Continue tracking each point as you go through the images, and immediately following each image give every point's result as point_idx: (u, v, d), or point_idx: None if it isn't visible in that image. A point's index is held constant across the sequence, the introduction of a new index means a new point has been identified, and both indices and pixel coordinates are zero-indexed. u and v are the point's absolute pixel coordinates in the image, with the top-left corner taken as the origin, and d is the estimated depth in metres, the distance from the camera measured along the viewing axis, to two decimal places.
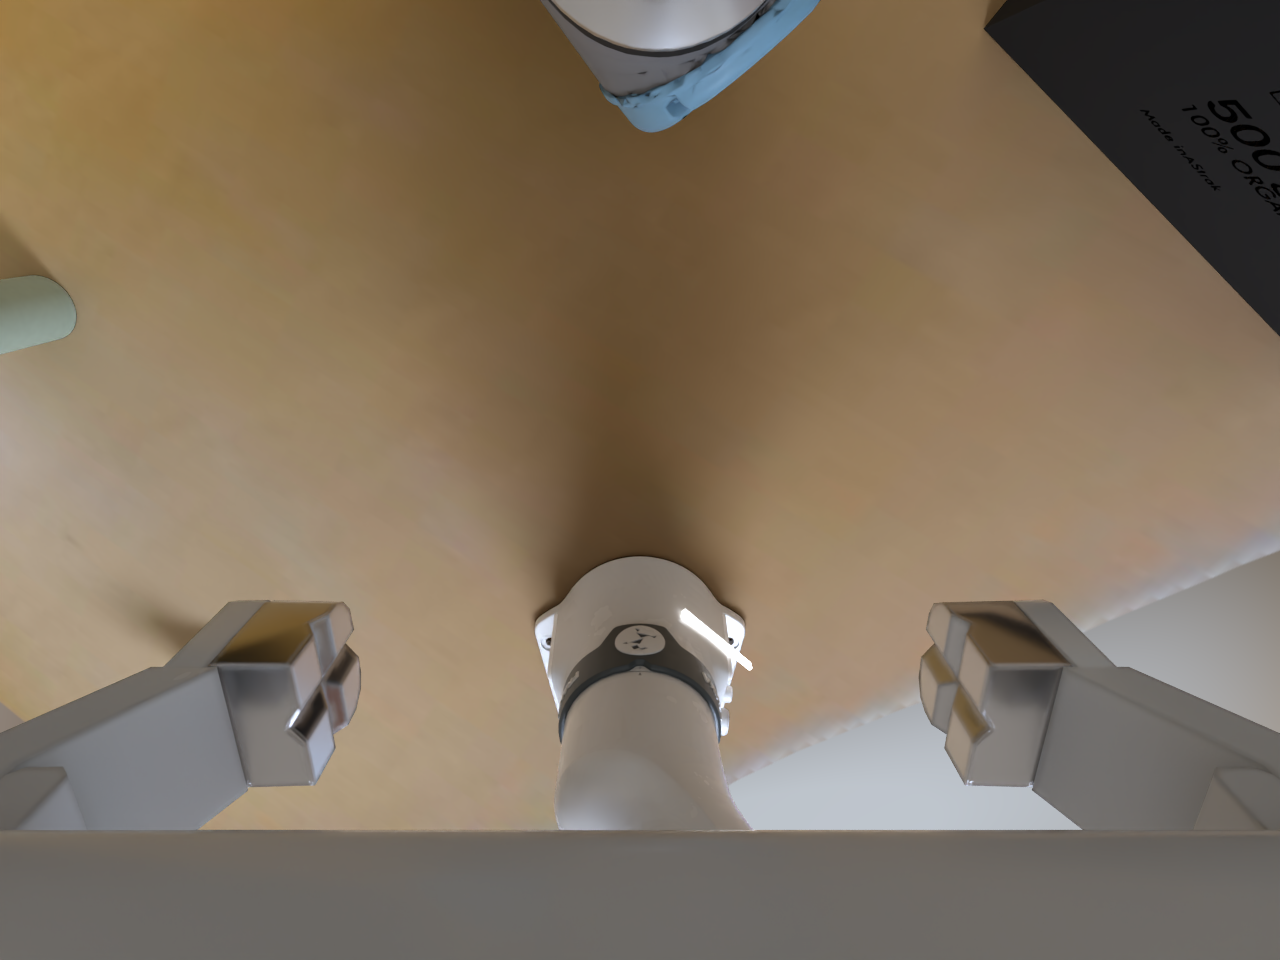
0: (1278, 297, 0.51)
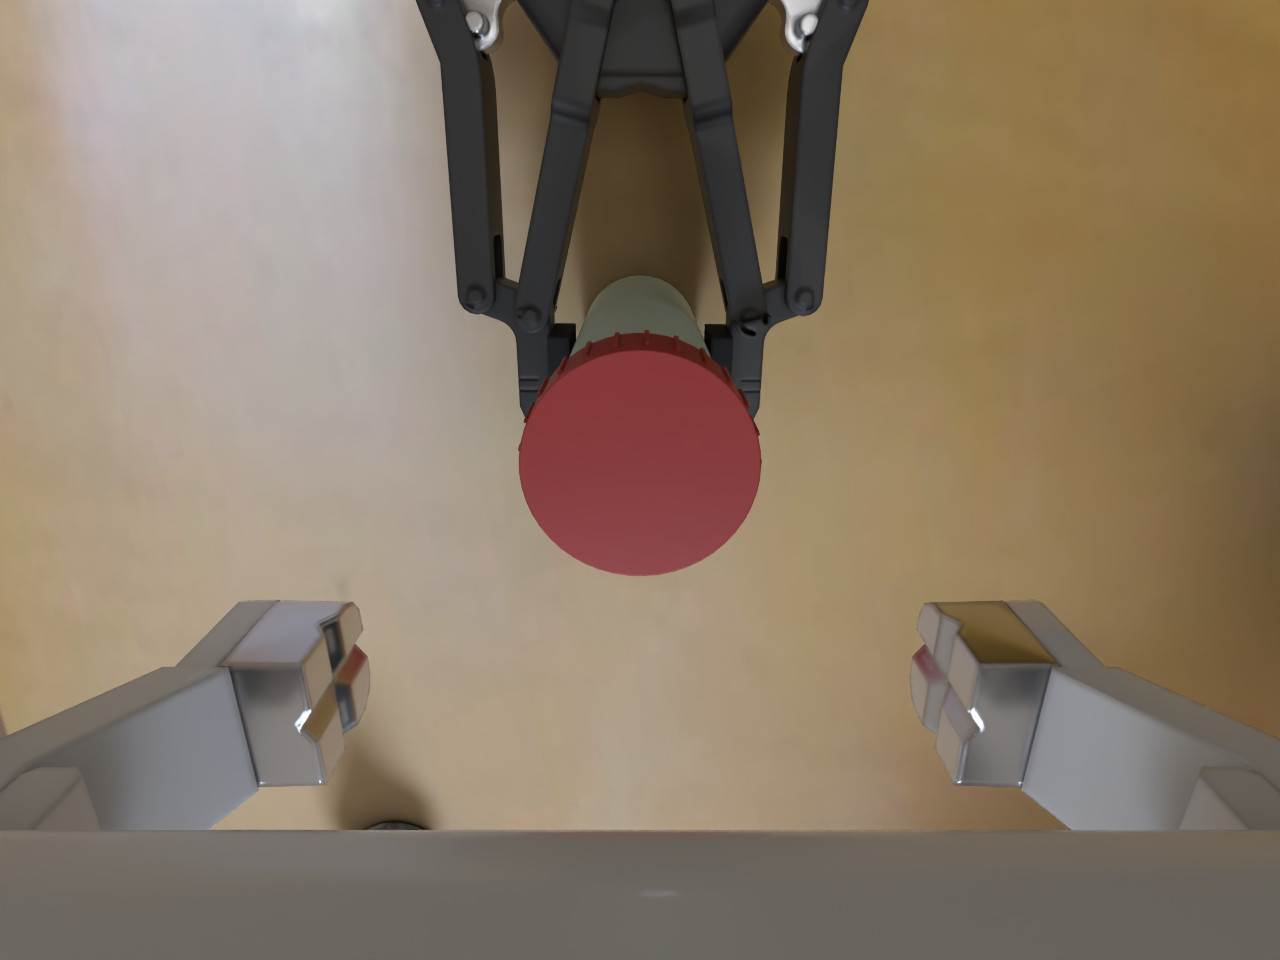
0: None
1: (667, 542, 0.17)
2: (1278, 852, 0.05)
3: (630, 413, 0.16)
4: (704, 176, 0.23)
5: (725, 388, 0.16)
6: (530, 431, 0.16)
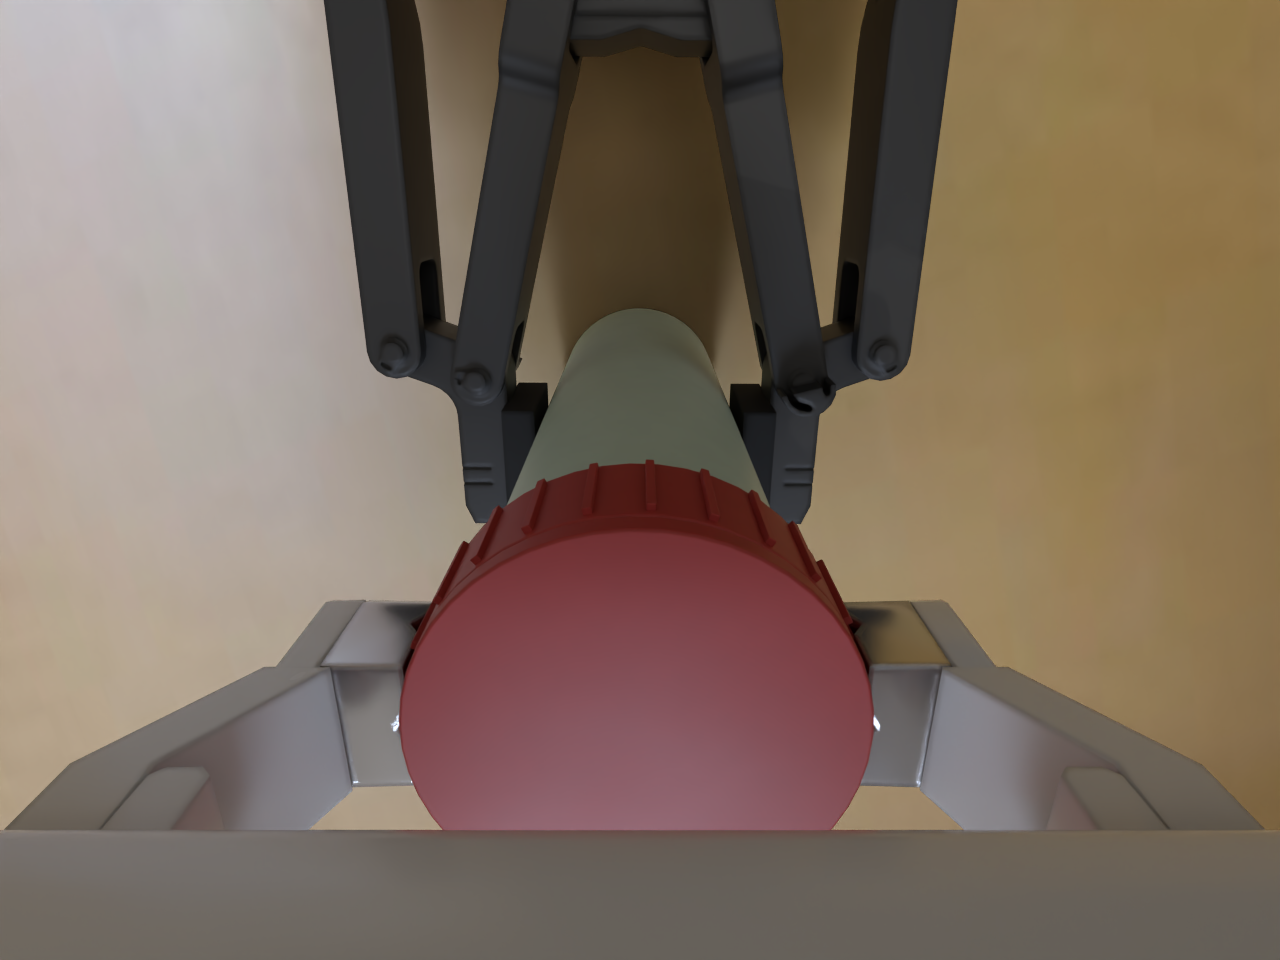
0: None
1: None
2: (1279, 852, 0.05)
3: (617, 646, 0.08)
4: (737, 173, 0.15)
5: (810, 601, 0.08)
6: (418, 677, 0.08)
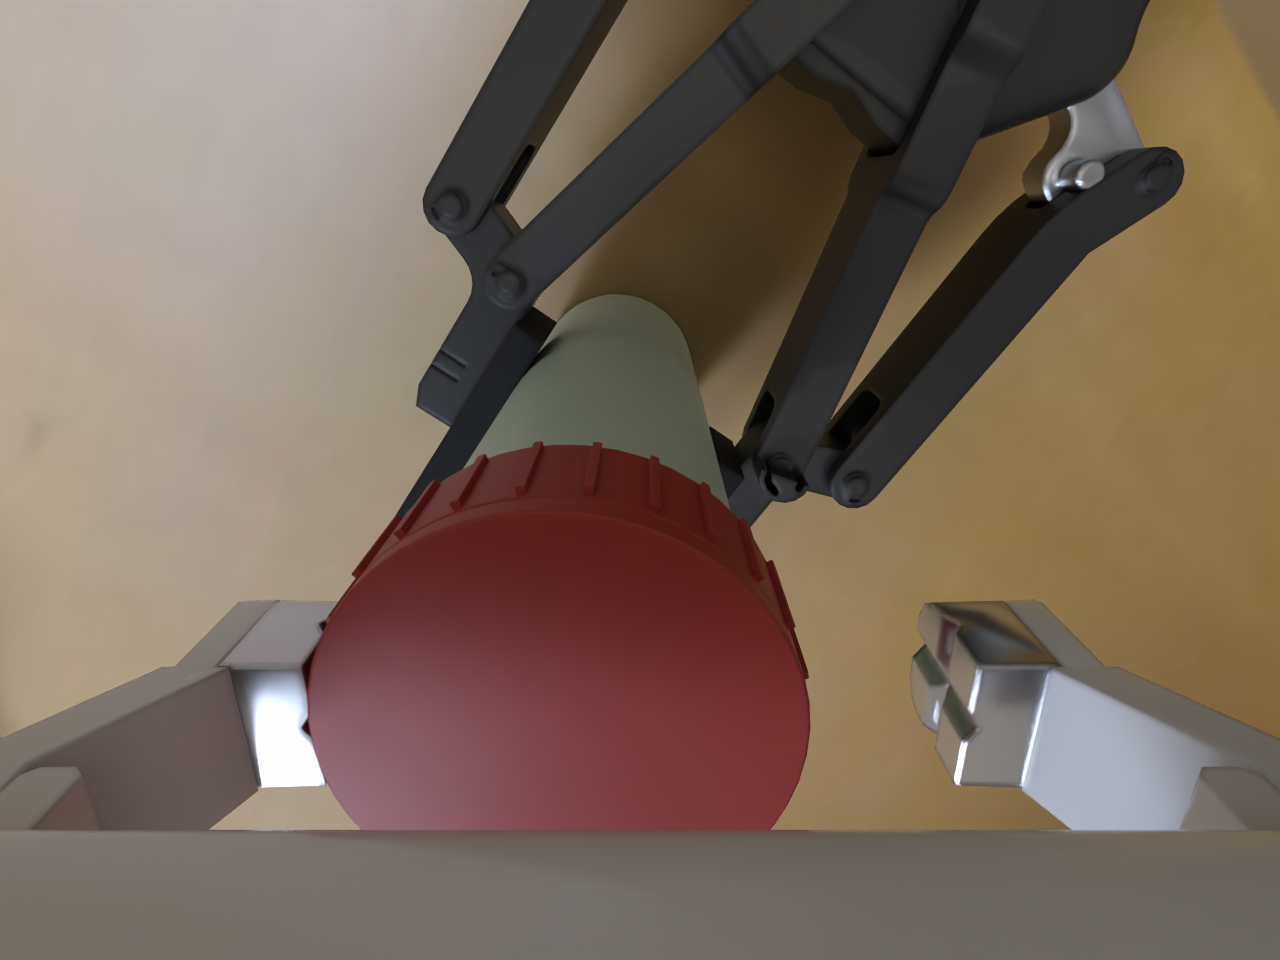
0: None
1: (726, 781, 0.08)
2: (1279, 852, 0.05)
3: (444, 692, 0.08)
4: (845, 265, 0.16)
5: (505, 522, 0.07)
6: None
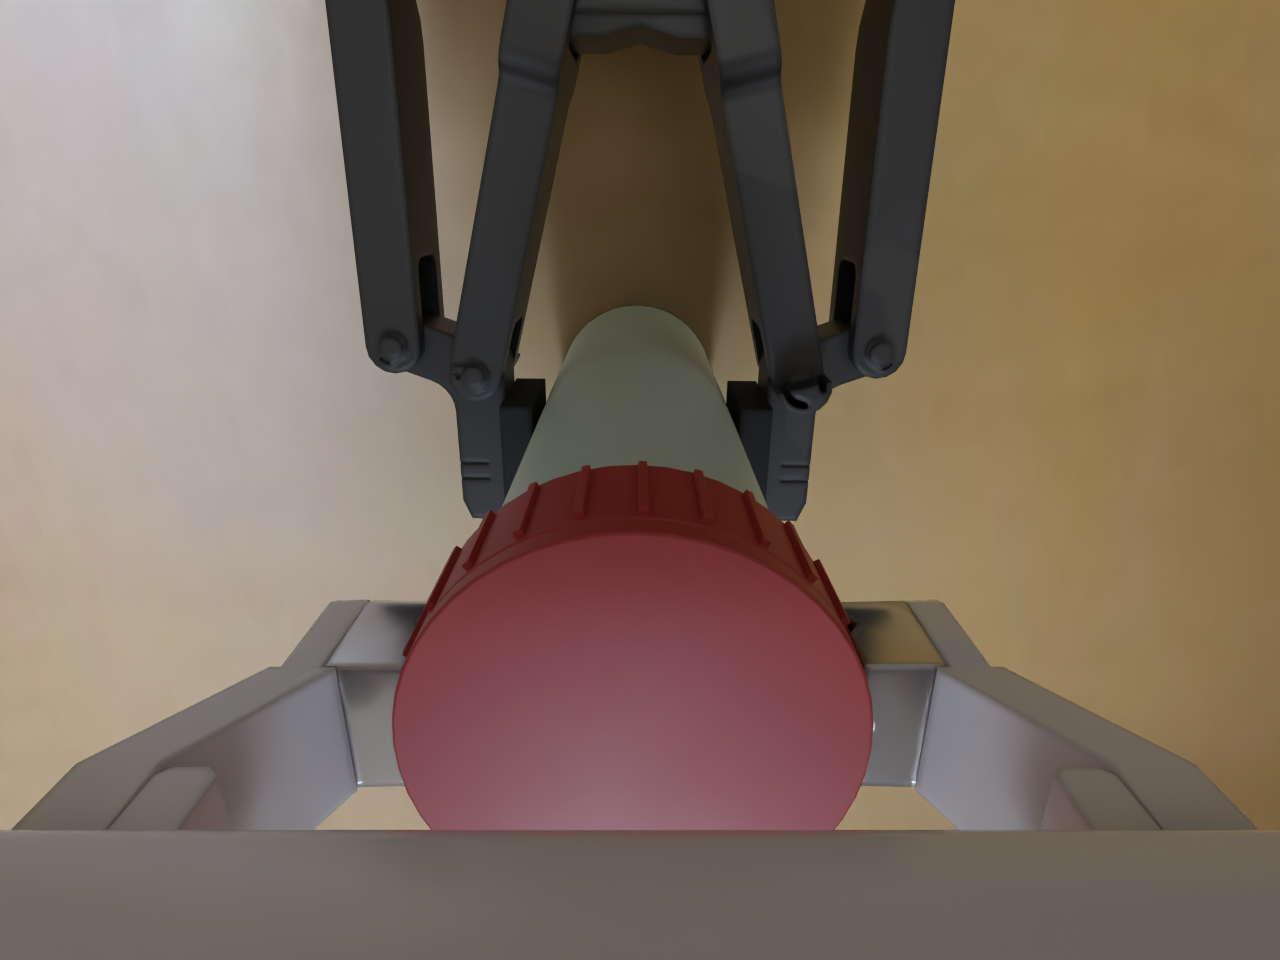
0: None
1: (800, 709, 0.08)
2: (1278, 852, 0.05)
3: (516, 759, 0.08)
4: (735, 171, 0.15)
5: (460, 601, 0.08)
6: None
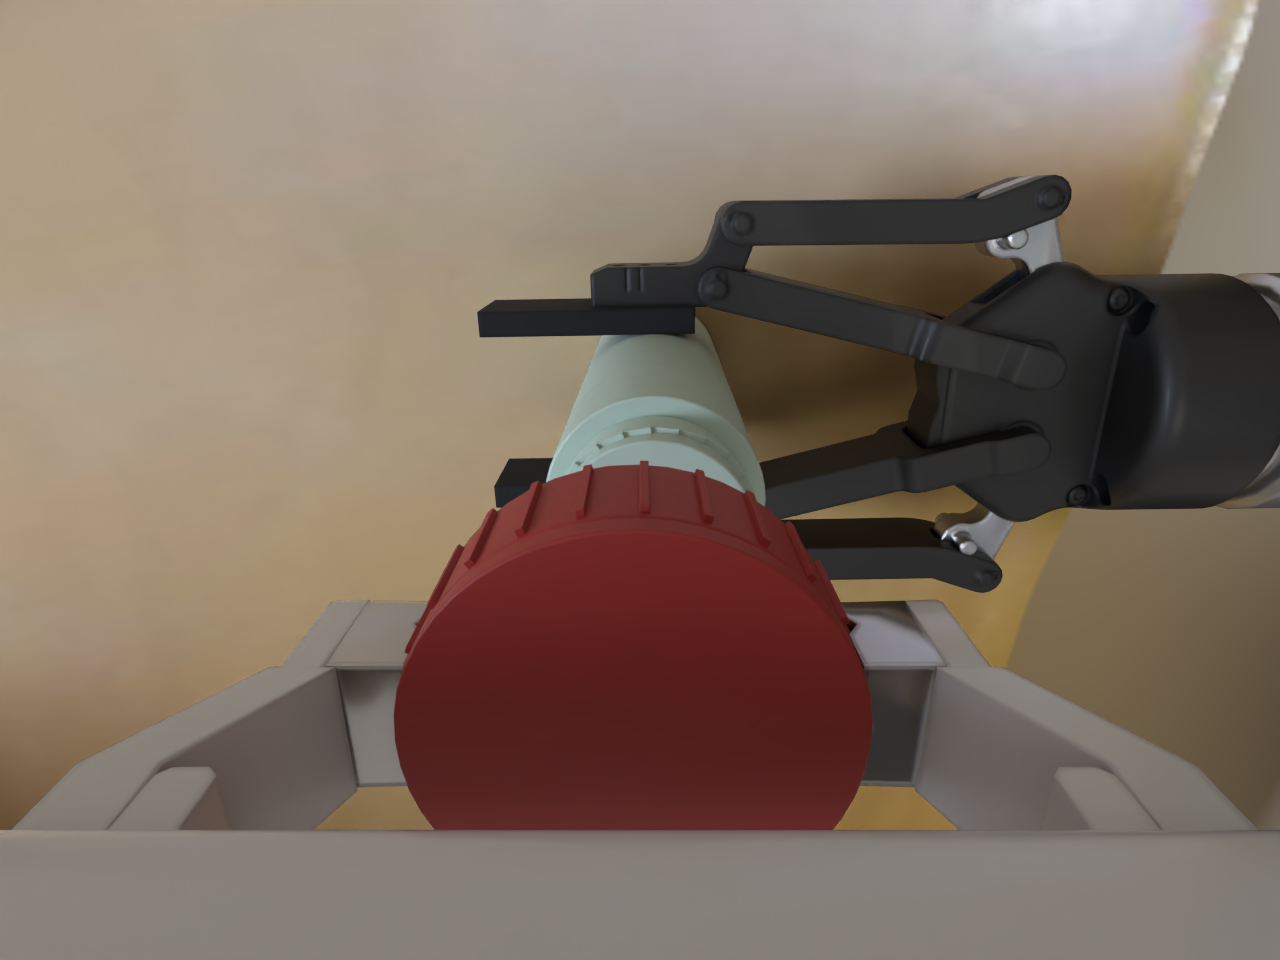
0: None
1: (800, 708, 0.08)
2: (1279, 852, 0.05)
3: (517, 756, 0.08)
4: (850, 467, 0.24)
5: (462, 598, 0.08)
6: None
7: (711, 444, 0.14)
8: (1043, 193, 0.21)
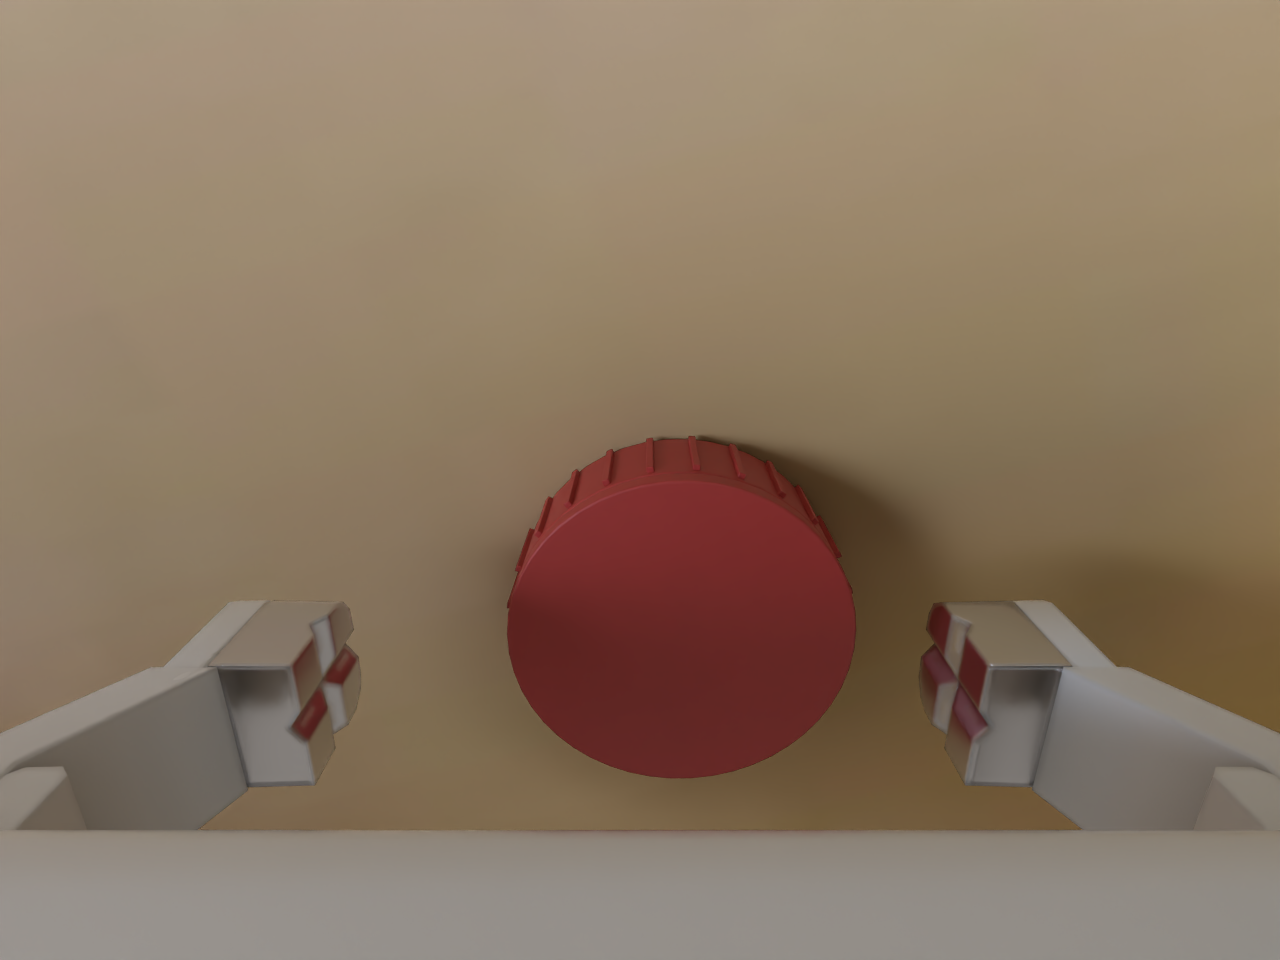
0: None
1: (803, 616, 0.11)
2: (1278, 852, 0.05)
3: (596, 648, 0.12)
4: None
5: (565, 527, 0.11)
6: (613, 760, 0.12)
7: None
8: None
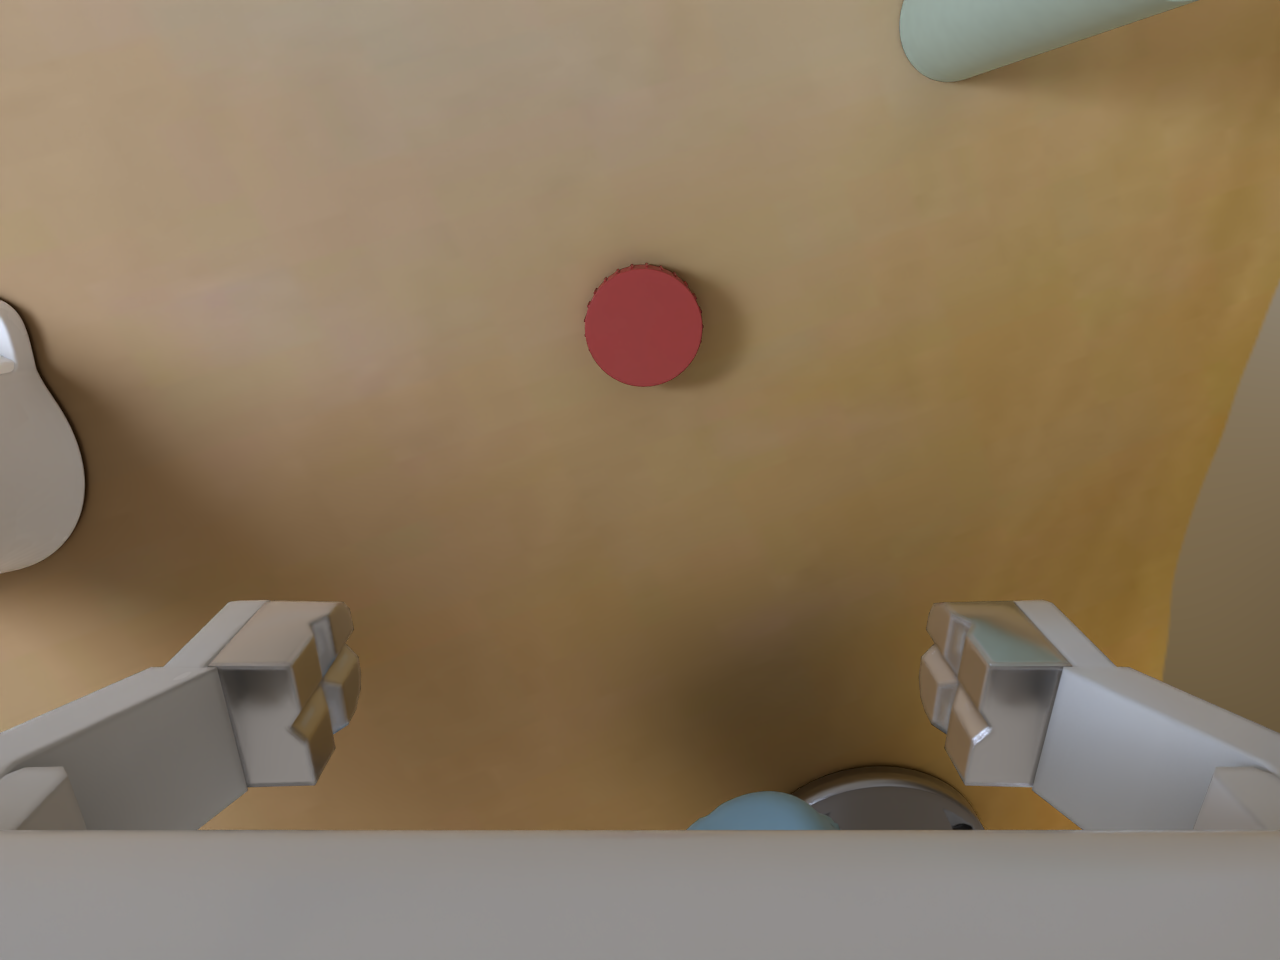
0: None
1: (683, 317, 0.34)
2: (1278, 852, 0.05)
3: (615, 332, 0.34)
4: None
5: (604, 286, 0.34)
6: (621, 379, 0.35)
7: None
8: None
